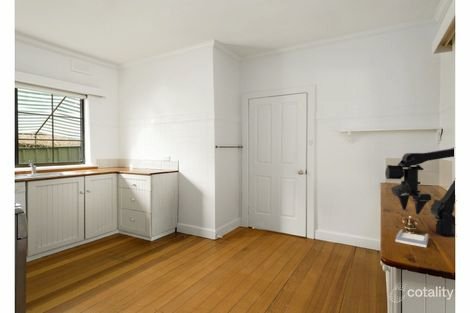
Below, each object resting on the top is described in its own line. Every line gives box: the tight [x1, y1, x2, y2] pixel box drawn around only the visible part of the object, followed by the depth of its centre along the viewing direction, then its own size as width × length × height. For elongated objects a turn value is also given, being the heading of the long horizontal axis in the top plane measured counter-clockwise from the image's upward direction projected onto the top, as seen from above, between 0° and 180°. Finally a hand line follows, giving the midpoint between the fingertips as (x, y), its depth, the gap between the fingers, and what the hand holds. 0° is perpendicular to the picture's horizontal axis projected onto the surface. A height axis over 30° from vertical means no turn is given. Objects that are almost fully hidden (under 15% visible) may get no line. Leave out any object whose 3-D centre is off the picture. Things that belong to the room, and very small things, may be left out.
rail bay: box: [395, 228, 429, 248], centre depth 115 cm, size 13×11×2 cm
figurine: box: [401, 215, 419, 234], centre depth 126 cm, size 5×5×8 cm
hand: (410, 211), depth 126 cm, fingers open, 9 cm apart
